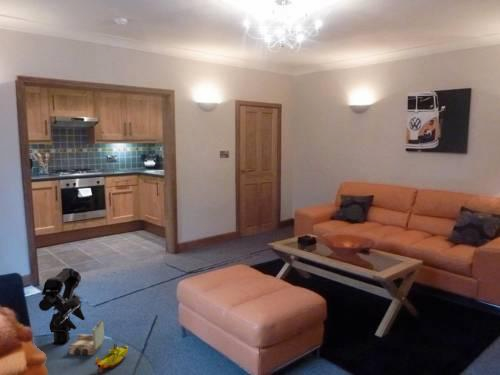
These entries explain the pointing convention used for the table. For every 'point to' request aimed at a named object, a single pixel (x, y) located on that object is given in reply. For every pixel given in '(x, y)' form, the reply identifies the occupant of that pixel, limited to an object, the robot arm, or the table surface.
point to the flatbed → (83, 345)
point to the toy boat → (112, 357)
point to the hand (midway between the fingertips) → (80, 324)
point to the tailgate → (98, 334)
